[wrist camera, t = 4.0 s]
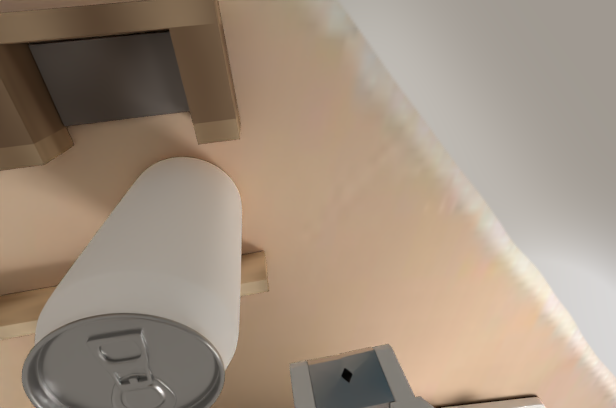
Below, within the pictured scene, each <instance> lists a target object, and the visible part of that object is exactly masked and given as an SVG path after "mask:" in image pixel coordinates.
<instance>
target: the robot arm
mask: <svg viewBox="0 0 616 408" xmlns="http://www.w3.org/2000/svg"><path fill="white" fill-rule="evenodd" d="M290 376H291V383H292V391H293V398H294V406H295V408H434V407H433V406H432V405H431V404H429V403H428V402H427V401H426V400H424V399H423V398H422V397H421V396H420V397H415V396H414V394H413V391H412V389H411V387H410V385H409V383H408V381H407V379H406V377H405V374H404V372H403V370H402V368H401V366H400V364H399V362H398V360H397V357H396V355H395V353H394V351H393V349H392V347H391V346H390V345H389V344H384V345H379V346H375V347H367V348H363V349H358V350H354V351H349V352H345V353H340V354H338V355H333V356H327V357H322V358H316V359H311V360H305V361H300V362H295V363H290ZM443 408H546V407H545V405H544V404H543V402H542V401H541V400H540V398H538V397H531V398H522V399H513V400H504V401H496V402H487V403H478V404H469V405H461V406H452V407H443Z"/></svg>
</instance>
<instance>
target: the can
mask: <svg viewBox="0 0 616 408" xmlns="http://www.w3.org/2000/svg"><path fill="white" fill-rule="evenodd" d="M241 248H242V203H241V197H240V194H239V191H238V189H237V187H236V185H235V184H234V182H233V181H232V179H231V178H230V177H229V176H228V175H227V174H226V173H225V172H224V171H222V170H221V169H220V168H218V167H217V166H215V165H213V164H211V163H209V162H206V161H204V160H200V159H196V158H190V157H175V158H169V159H165V160H162V161H159V162H157V163H155V164H153V165H152V166H150V167H149V168H147V169H146V170H145V171H144V172H143V173H142V174H141V175H140V176H139V177H138V179H137V180H136V181H135V182H134V184H133V185H132V186H131V188H130V189H129V190H128V191H127V193H126V194H125V195H124V197H123V198H122V199H121V201H120V202H119V203H118V205H117V206H116V207H115V209H114V210H113V211H112V213H111V214H110V215H109V217H108V218H107V219H106V221H105V222H104V223H103V225H102V226H101V228H100V229H99V230H98V232H97V233H96V234H95V236H94V237H93V238H92V240H91V241H90V242H89V244H88V245H87V246H86V248H85V249H84V250H83V252H82V253H81V255H80V256H79V257H78V259H77V260H76V261H75V263H74V264H73V265H72V267H71V268H70V269H69V271H68V272H67V274H66V275H65V276H64V278H63V279H62V280H61V282H60V283H59V285H58V286H57V287H56V289H55V290H54V292H53V293H52V295H51V296H50V298H49V299H48V301H47V302H46V304H45V306H44V308H43V309H42V311H41V313H40V315H39V318H38V321H37V326H36V331H35V346H34V347H33V348H32V350H31V351H30V352H29V354H28V356H27V358H26V360H25V362H24V365H23V369H22V383H23V387H24V390H25V392H26V394H27V396H28V398H29V399H30V401H31V402H32V403H33V405H34V406H35V407H36V408H210V407H211V406H212V405H213V403H214V402H215V401H216V400H217V398H218V397H219V395H220V393H221V391H222V388H223V385H224V381H225V370H226V368H227V367H228V365H229V363H230V361H231V359H232V357H233V355H234V353H235V350H236V347H237V342H238V335H239V320H240V289H241Z"/></svg>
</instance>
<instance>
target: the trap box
mask: <svg viewBox="0 0 616 408" xmlns="http://www.w3.org/2000/svg"><path fill="white" fill-rule="evenodd" d="M160 30H169V31H170V32H163V33H152V34H142V35H131V36H121V37H110V38H100V39H89V40H79V41H68V42H58V43H47V44H37V45H29V43H33V42H44V41H55V40H65V39H76V38H86V37H97V36H107V35H118V34H129V33H139V32H150V31H160ZM187 111H190V114H191V118H192V121H193V125H194V129H195V133H196V137H197V141H198V144H206V143H214V142H221V141H229V140H236V139H240V128H241V123H240V118H239V112H238V107H237V101H236V96H235V91H234V85H233V80H232V74H231V69H230V64H229V58H228V53H227V47H226V42H225V36H224V31H223V26H222V20H221V15H220V9H219V4H218V1H217V0H148V1H136V2H124V3H112V4H100V5H89V6H77V7H65V8H53V9H42V10H30V11H18V12H6V13H0V171H1V170H9V169H16V168H24V167H31V166H39V165H45V164H46V163H48V162H49V161H51V160H52V159H54V158H55V157H57V156H58V155H60V154H62V153H63V152H65V151H66V150H68V149H69V148H71V147H72V146H74V144H73V142H72V139H71V137H70V135H69V133H68V130H67V128H66V126H71V125H80V124H88V123H96V122H105V121H113V120H121V119H129V118H138V117H146V116H154V115H162V114H171V113H179V112H187ZM56 287H57V286H55V287H49V288H43V289H37V290H31V291H25V292H19V293H13V294H7V295H2V296H0V340H4V339H10V338H15V337H21V336H26V335H32V334H35V331H36V326H37V321H38V318H39V315H40V313H41V311H42V309H43V308H44V306H45V304H46V302H47V301H48V299H49V298H50V296H51V295H52V293H53V292H54V290H55V289H56ZM268 291H269V288H268V276H267V265H266V258H265V253H264V251H262V252H256V253H250V254H244V255H241V289H240V296H246V295H251V294H257V293H262V292H268Z"/></svg>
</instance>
